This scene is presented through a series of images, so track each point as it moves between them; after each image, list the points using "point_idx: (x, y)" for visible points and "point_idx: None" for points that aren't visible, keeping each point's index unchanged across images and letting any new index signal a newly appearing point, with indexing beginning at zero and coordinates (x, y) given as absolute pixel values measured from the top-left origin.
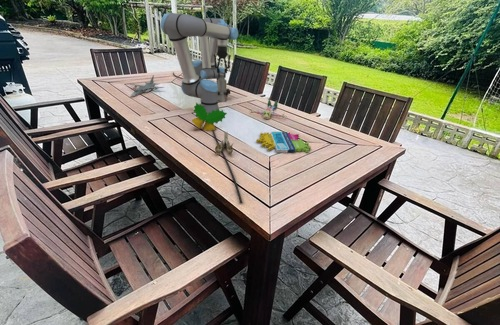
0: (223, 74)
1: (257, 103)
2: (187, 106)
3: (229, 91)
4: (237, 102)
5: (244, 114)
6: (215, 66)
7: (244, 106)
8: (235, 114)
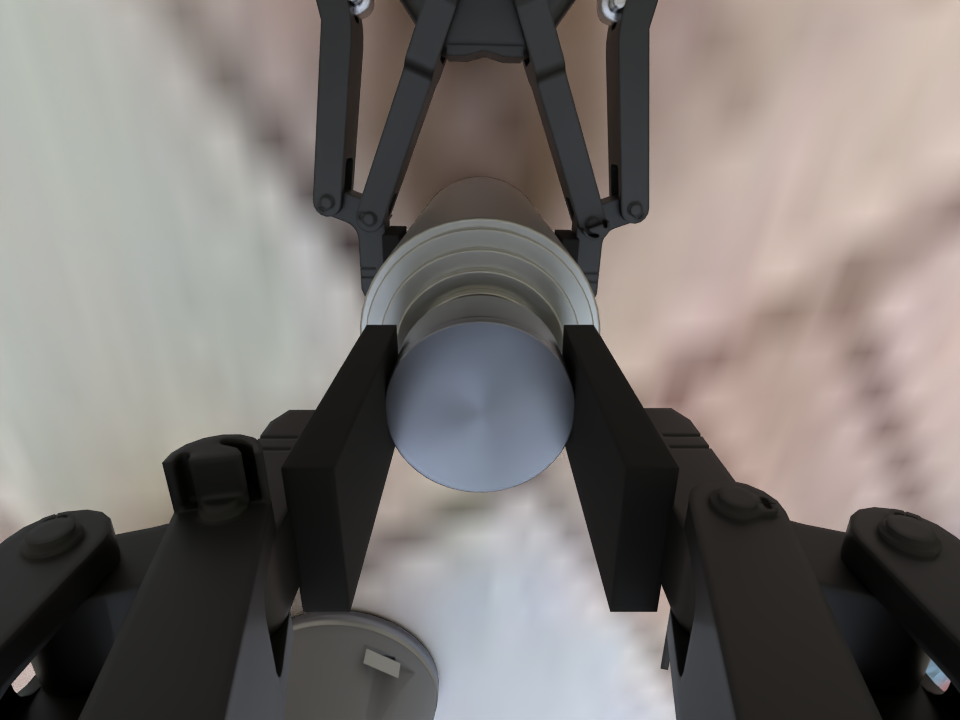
0: (532, 412)
1: (956, 340)
2: (85, 487)
3: (627, 222)
4: (691, 310)
5: (660, 667)
6: (75, 713)
7: (734, 462)
8: (577, 669)
